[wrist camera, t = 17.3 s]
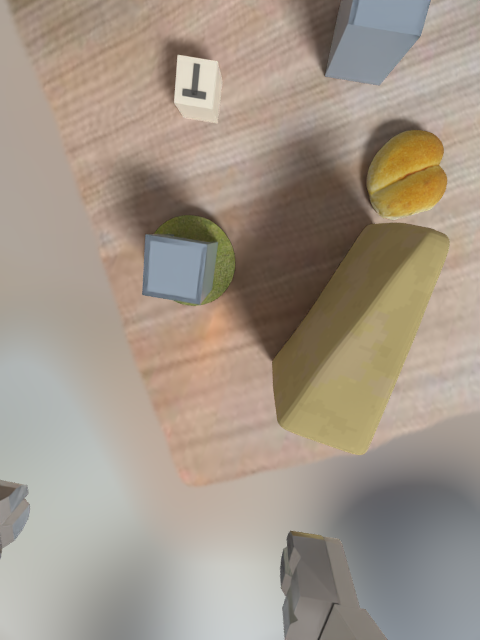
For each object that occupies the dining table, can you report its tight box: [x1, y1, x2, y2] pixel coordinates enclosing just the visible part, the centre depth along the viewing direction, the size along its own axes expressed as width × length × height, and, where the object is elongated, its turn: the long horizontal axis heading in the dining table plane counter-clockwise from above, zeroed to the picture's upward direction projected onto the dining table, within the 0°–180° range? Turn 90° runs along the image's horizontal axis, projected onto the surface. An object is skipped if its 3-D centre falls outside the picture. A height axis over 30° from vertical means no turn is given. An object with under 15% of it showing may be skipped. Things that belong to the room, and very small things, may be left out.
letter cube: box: [174, 55, 222, 123], centre depth 30 cm, size 4×4×4 cm
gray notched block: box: [325, 0, 431, 85], centre depth 26 cm, size 6×6×8 cm
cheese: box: [272, 223, 449, 455], centre depth 31 cm, size 22×10×15 cm, turn 160°
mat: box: [154, 215, 235, 306], centre depth 36 cm, size 11×11×2 cm
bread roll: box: [367, 130, 447, 220], centre depth 31 cm, size 8×9×4 cm
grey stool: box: [142, 234, 218, 305], centre depth 31 cm, size 6×6×8 cm
